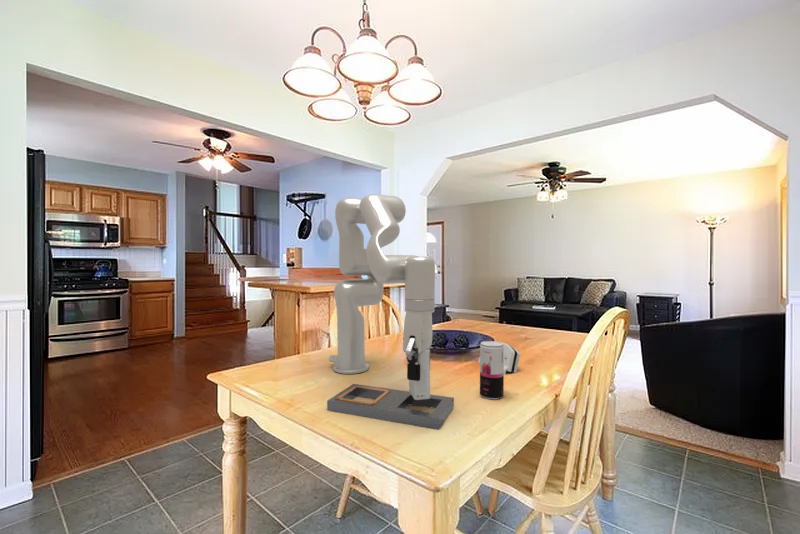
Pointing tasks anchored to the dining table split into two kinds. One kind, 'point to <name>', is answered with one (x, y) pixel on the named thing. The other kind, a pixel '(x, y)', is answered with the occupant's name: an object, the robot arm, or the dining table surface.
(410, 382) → the skincare box
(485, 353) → the beverage can
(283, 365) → the dining table surface
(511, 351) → the white curved block
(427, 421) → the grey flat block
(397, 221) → the robot arm
